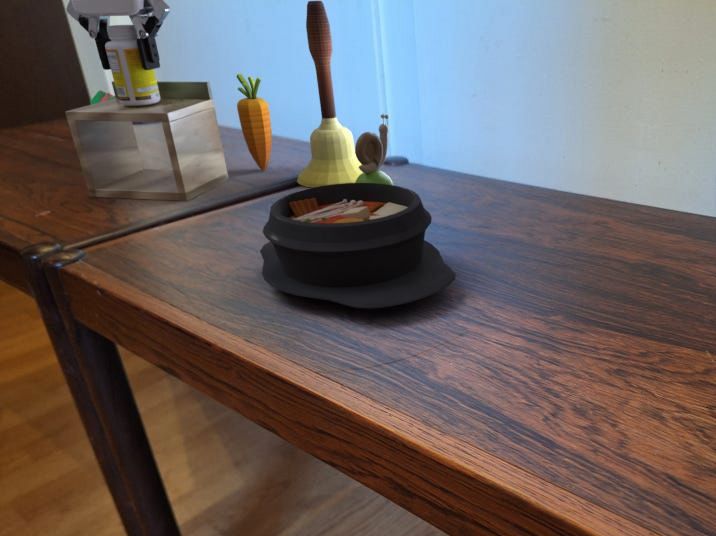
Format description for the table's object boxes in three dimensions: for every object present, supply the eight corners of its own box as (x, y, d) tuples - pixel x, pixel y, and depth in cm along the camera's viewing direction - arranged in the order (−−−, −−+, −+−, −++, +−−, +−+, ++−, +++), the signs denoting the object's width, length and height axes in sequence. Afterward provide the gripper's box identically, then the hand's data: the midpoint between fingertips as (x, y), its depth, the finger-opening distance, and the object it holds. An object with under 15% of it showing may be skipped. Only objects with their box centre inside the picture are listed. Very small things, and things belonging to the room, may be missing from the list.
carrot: (284, 169, 116) (269, 73, 108) (258, 175, 113) (241, 76, 105) (268, 165, 119) (252, 70, 111) (242, 170, 116) (224, 74, 108)
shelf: (90, 197, 104) (59, 93, 97) (139, 176, 114) (114, 80, 107) (187, 201, 101) (162, 94, 94) (228, 179, 111) (209, 81, 104)
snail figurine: (408, 205, 97) (402, 115, 91) (378, 218, 92) (370, 124, 86) (378, 200, 99) (370, 112, 94) (347, 212, 95) (337, 120, 89)
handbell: (380, 167, 116) (365, -2, 104) (368, 187, 105) (349, 1, 93) (307, 168, 116) (283, 0, 104) (287, 188, 106) (258, 3, 93)
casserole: (223, 269, 77) (207, 194, 73) (365, 230, 88) (358, 163, 84) (339, 348, 61) (327, 257, 57) (498, 289, 71) (498, 208, 67)
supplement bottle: (167, 99, 104) (150, 23, 99) (151, 106, 99) (133, 26, 94) (130, 100, 104) (111, 24, 99) (112, 106, 99) (92, 27, 94)
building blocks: (124, 142, 159) (152, 112, 153) (87, 125, 153) (115, 93, 147) (125, 117, 163) (152, 86, 157) (89, 99, 156) (116, 66, 150)
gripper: (16, -82, 89) (60, 71, 97) (137, -86, 85) (171, 72, 94) (58, -78, 95) (96, 65, 104) (171, -83, 92) (201, 65, 101)
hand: (131, 67), depth 99 cm, fingers closed on supplement bottle, 5 cm apart
